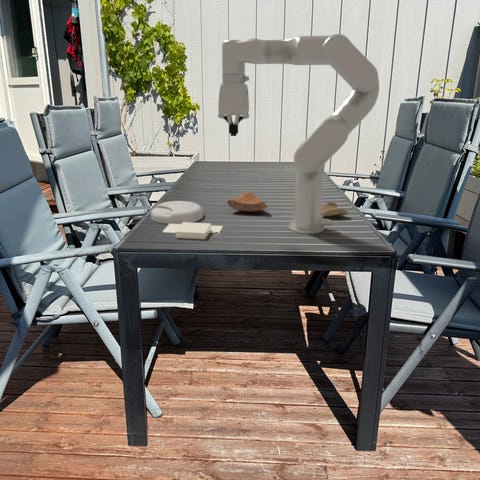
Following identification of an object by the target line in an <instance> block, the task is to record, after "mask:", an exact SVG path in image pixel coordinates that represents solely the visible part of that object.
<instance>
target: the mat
mask: <svg viewBox="0 0 480 480" xmlns="http://www.w3.org/2000/svg"><path fill="white" fill-rule="evenodd" d="M180 225H181V224H170V223H169V224H167V226H166V227H165V228H164V229H163V230H162V233H173V234H174V233H175V234H176V231H177V229H178V228H179V227H180ZM223 229H224V225H212V224H211V231H210V232H212V233H215V232H218V233H219V234H220V233H221V232H220V231H222V230H223Z"/></svg>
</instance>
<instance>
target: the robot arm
mask: <svg viewBox="0 0 480 480" xmlns="http://www.w3.org/2000/svg"><path fill="white" fill-rule="evenodd" d="M221 44H222V45H221V66H222V67H221V68H222V69H221V70H222V73H221V75H222V76H221V77H222V78H221V79H222V81H221V82H222V84H220V85H219V93H218V108H217V109H218V110H217V111H218V114H217V117H218V118H219V119H222V120H225V121H226V123H227V124H228V133H229V134H230V137H237V134H239V124H240V122H242V121H243V120H246V119H249V118H250V113H249V111H250V110H249V109H250V98H249V97H250V96H249V87H248V84H246V82H248V81H250V76H247V75H246V64H252V65H253V64H254V65H268V64H269V65H270V64H271V65H273V64H274V65H275V64H276V65H284V64H285V65H293V66H331V68H332V69H333V70H334V71H335V72H336V73H337V74H338V75H339V76H340V77H341V78H342V79H343V80H344V81H345V82H346V83H347V84H348V85H349V86H350V87H351V88H352V90H351V92H350V93H349V95H348V96H347V97H346V99H344V100H343V102H342V103H341V104H340V105H339V106H338V107H337V108H336V109H335V110H334V111H333V112H332V114H330V115H329V116H328V117H326V119H324V120H323V121H322V122H321V124H320V125H319V126H317V128H316V129H315V130H314V131H313V132H312V133H311V134H310V135H309V137H308V138H306V139H305V140H304V141H302V142H301V143H300V144H299V146H298V147H297V148H296V150H295V152H294V154H293V163H294V166H295V168H296V172H295V187H294V206H293V207H294V208H293V221H291V222H290V223H289V224H288V228H289V230H290V231H291V232H294V233H296V234H304V235H305V234H306V235H310V234H311V235H314V234H320V233H322V232H324V231H325V226H328V227H334V224H335V222H334V220H330V218H323V217H322V216H323V215H322V214H321V210H322V207H323V206H322V203H323V190H324V189H323V188H324V177H325V167H326V166H325V165H326V163H327V162H328V161H329V160H330V159H331V158H332V157H333V156H334V155H335V154H336V153H337V152H338V151H339V150H340V149H341V148H342V147H343V145H345V143H346V142H347V140H348V137H349V135H350V134H351V133H352V132H353V130H355V128H356V127H357V126H359V125H360V123H361V122H362V121H363V120H364V119H365V118H366V117H367V116H368V114H369V113H370V112H371V111H373V109H374V107H375V105H376V103H377V100H378V98H379V93H380V81H379V80H380V79H379V72H378V69H377V68H376V67H375V65H374V64H373V63H372V62H371V61H370V60H369V59H368V58H367V57H366V56H365V55H364V54H363V53H362V52H361V51H360V50H359V49H358V48H357V46H355V44H354V43H352V41H351V40H350V39H349V37H347V36H346V35H344V34H340V33H335V34H332V35H300V36H295V37H291V38H287V39H267V40H266V39H259V38H248V39H242V40H241V39H225V40H224V41H222V43H221ZM233 116H235V118H234V120H233Z"/></svg>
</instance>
